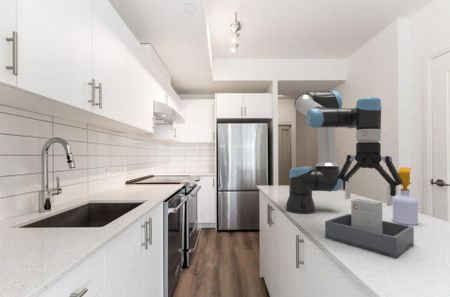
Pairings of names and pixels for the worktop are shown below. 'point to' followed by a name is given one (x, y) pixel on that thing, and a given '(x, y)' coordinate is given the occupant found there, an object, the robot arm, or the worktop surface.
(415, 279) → the worktop surface
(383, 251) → the charcoal bin
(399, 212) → the soap bottle
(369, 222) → the small box
